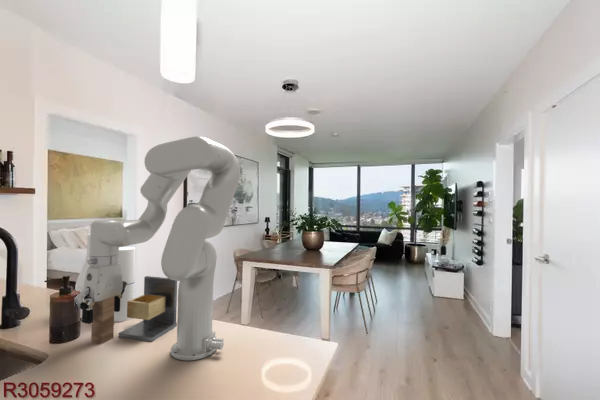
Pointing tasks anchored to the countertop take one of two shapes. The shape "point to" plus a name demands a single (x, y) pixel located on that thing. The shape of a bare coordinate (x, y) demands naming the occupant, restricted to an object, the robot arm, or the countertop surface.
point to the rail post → (103, 321)
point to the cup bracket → (153, 310)
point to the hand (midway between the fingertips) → (101, 316)
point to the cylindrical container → (126, 280)
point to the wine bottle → (83, 271)
